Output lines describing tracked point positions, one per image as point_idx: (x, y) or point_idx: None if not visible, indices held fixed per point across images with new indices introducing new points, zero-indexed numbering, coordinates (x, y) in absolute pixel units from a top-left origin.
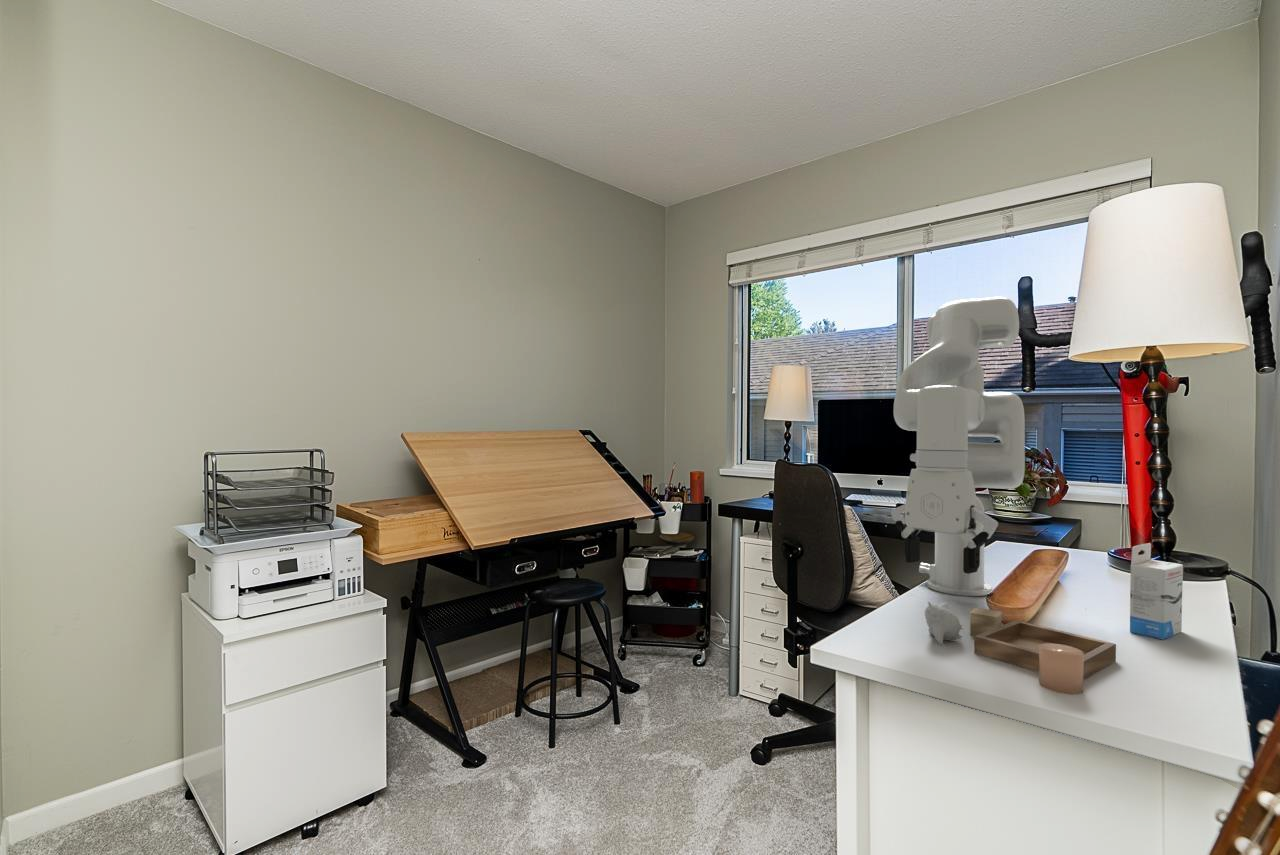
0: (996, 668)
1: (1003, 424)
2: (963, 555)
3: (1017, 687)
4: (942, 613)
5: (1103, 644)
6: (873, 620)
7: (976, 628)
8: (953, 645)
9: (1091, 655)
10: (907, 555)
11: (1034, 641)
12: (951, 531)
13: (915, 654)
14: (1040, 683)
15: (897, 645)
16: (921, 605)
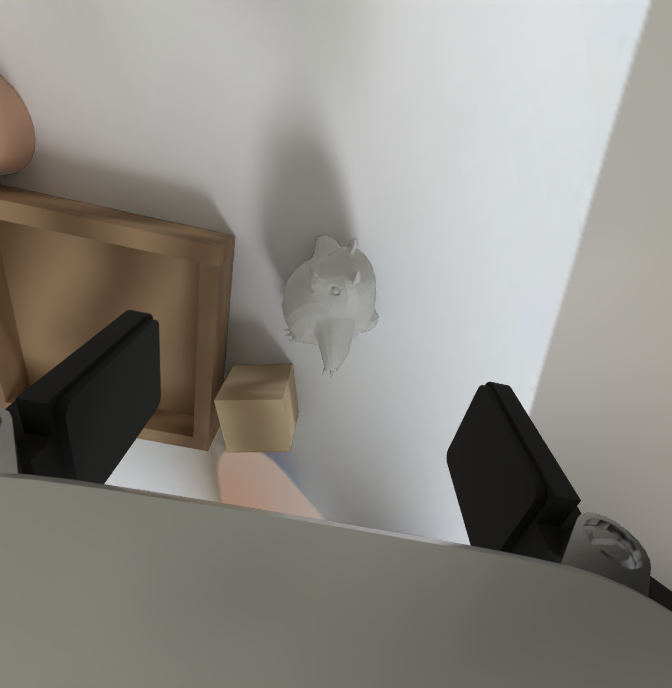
0: (144, 144)
1: None
2: (100, 371)
3: (31, 3)
4: (310, 267)
5: (13, 401)
6: (537, 328)
7: (274, 376)
8: (297, 262)
9: None
10: (511, 404)
11: (163, 393)
12: (5, 488)
13: (354, 88)
14: (9, 87)
15: (424, 140)
16: (449, 504)
